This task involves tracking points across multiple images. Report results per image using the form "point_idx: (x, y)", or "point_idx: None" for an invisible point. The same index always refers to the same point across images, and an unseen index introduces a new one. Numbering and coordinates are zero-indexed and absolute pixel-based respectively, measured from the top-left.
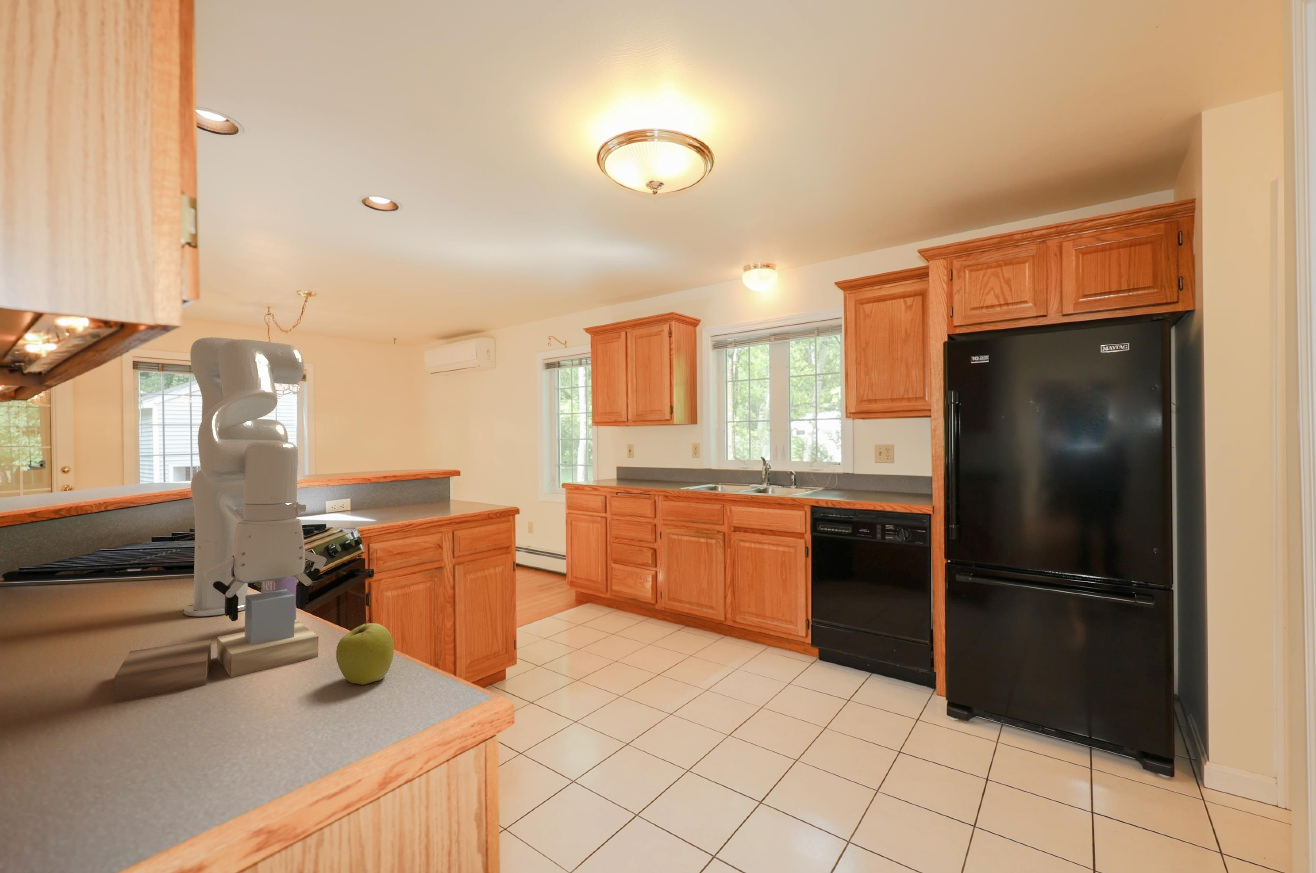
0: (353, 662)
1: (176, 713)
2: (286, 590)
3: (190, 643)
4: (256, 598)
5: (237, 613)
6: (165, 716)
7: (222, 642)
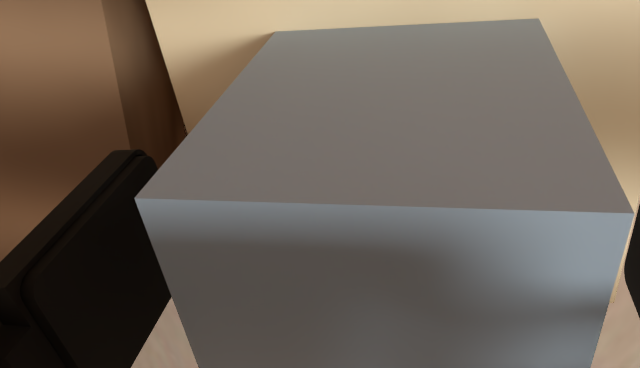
0: None
1: (170, 363)
2: (595, 274)
3: None
4: None
5: (169, 294)
6: (152, 362)
7: (171, 75)
